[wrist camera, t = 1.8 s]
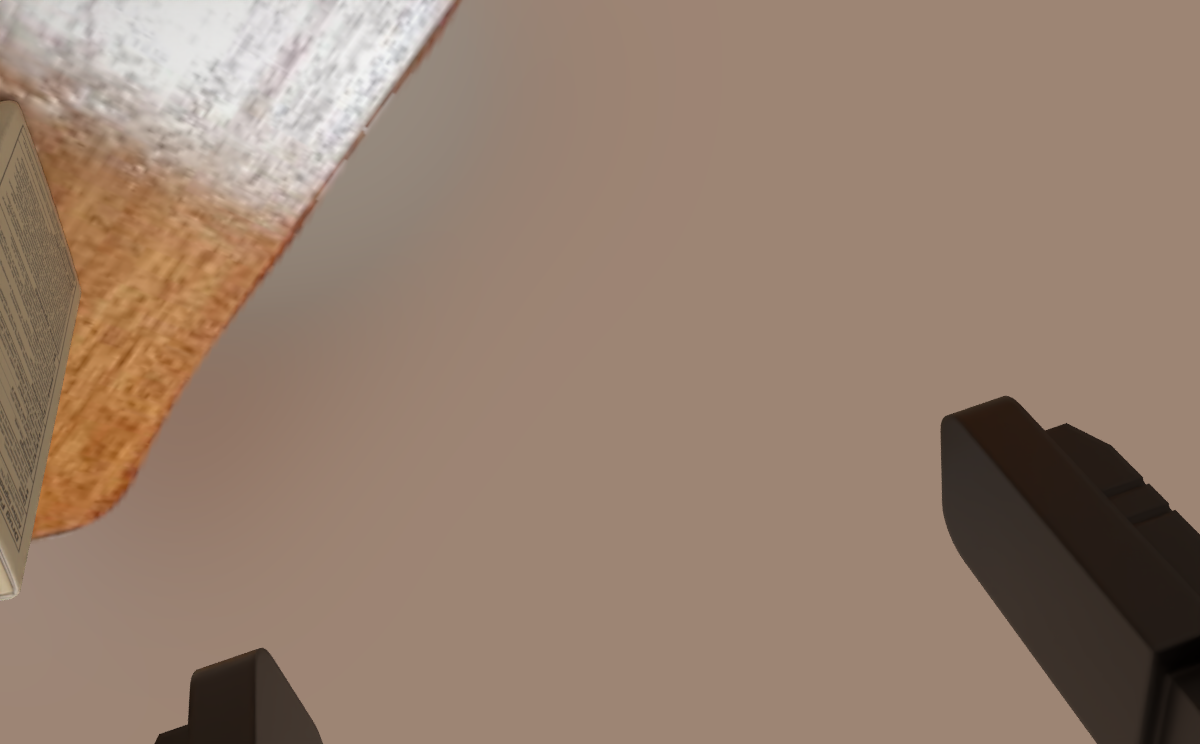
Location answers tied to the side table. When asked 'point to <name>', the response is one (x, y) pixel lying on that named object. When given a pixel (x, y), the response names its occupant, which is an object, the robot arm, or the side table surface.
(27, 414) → the cosmetic box
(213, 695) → the robot arm
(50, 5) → the side table surface
